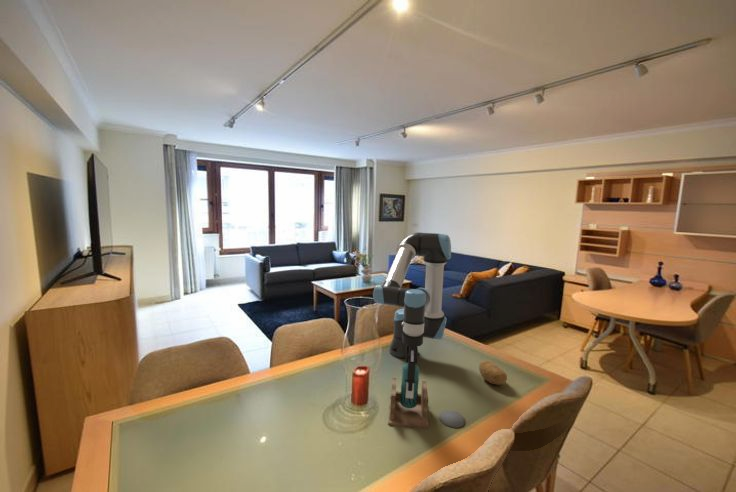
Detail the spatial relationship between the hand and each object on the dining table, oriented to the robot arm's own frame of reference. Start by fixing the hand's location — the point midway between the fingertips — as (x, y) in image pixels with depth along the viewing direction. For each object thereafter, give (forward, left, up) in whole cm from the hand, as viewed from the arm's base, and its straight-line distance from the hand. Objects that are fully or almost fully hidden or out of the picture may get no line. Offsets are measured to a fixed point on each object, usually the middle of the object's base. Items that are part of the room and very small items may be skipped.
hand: (409, 391), depth 119 cm
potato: (-29, +38, -8) cm, 49 cm away
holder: (0, 0, -8) cm, 8 cm away
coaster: (+1, +16, -8) cm, 18 cm away
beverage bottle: (0, 0, -6) cm, 6 cm away
